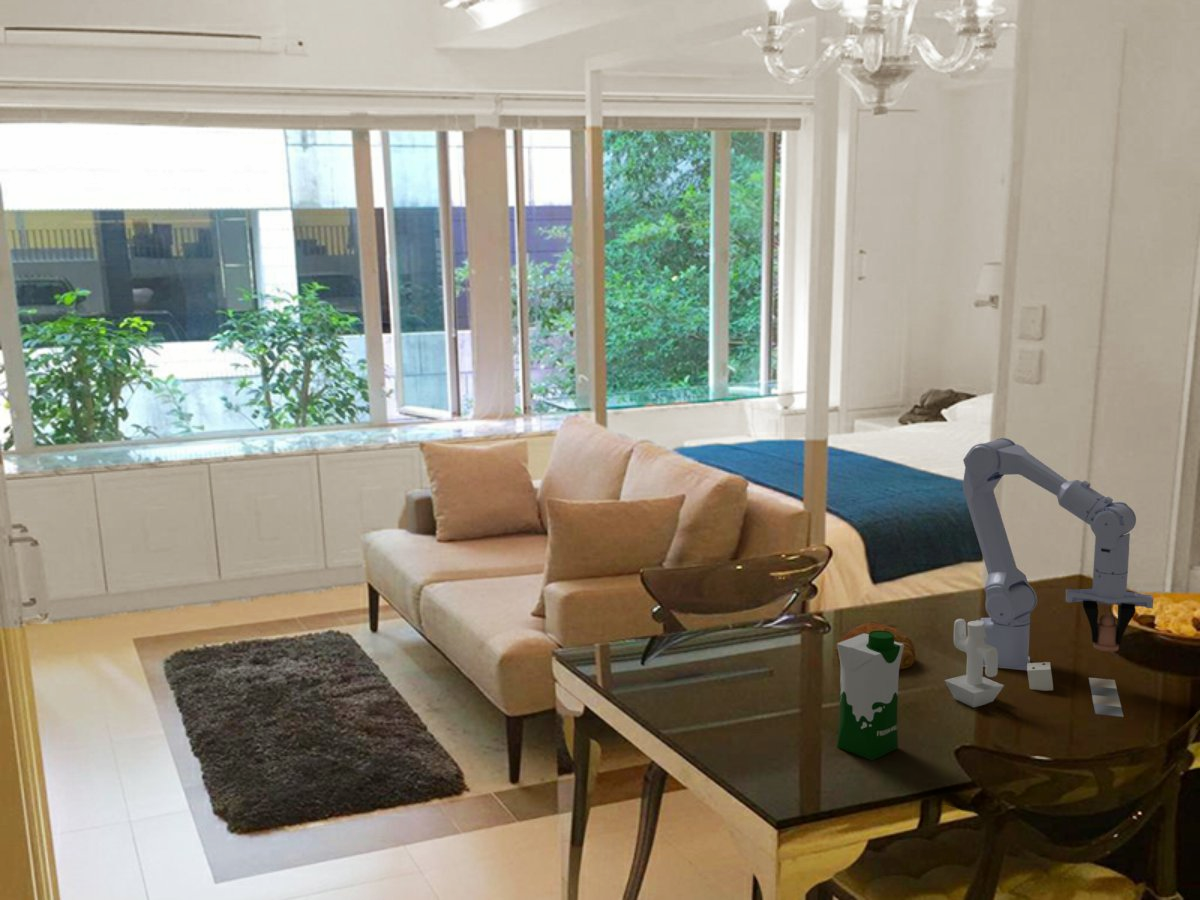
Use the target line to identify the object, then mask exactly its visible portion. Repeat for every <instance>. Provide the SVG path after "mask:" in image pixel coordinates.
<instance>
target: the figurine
mask: <svg viewBox="0 0 1200 900" xmlns="http://www.w3.org/2000/svg"><path fill="white" fill-rule="evenodd" d="M985 632H986V631H985V623H984V622H983V621H981V619H975V620H971V621H968V622H966V620H965V619H964V618H957V619H956V620H955V621H954V623H953V645H954V647H955V648H956V649H957V650H959V651H961V652H964V653H966V671H965V672H966V673H965V674H963V675H959V676H956V677H951V678H948V679H944V682H945V684H946V686H947V688H948V689H949V691H950V693H951V695H952V697H953V699H954V700H956V701H959V702H960V703H963V704H965V705H967V706H969V707H971V708H977V707H981V706H983V705H987V704H990V703H992V702H994V701H995V699H997V696H998V695H999V693H1000V692H1001V690H1003V688H1004V687H1005V685H1004V684H1002V683H999V682H997V681H994V680H992V679H989V678H994V677H996V676H997V675H998V671H999V670H998V652H997V649H996V648H995V647H993V646H991V645H988V644H985V642H984V638H986V634H985ZM983 659H984V661H985V667H983ZM984 668H985V669H984ZM983 671H984V672H985V673H983ZM983 674H985V676H986V677H985V676H984V675H983ZM987 677H988V678H987Z"/></svg>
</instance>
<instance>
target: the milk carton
mask: <svg viewBox="0 0 1200 900" xmlns="http://www.w3.org/2000/svg"><path fill="white" fill-rule="evenodd" d="M839 642H840V641H839ZM839 642H837V643H836V645H837V648H838V653H839V658H840V660H839V662H840V680H839V681H840V682H839V685H840V686H839V687H840V689H839V695H840V696H839V717H838V731H837V743H836V747H837V748H839V749H842V750H844V751H846V752H849V753H852V754H855V755H857V756H860V757H863V758H864V759H868V760H870V761H875V760H877V759H879V758H880V757H883V756H884V755H887V754H889V753H891V752H892V751H895V750H897V749H898V748H899V738H898V736H899V735H898V708H899V707H898V706H899V705H898V704H899V703H898V701H899V673H900V669H899V667H900V662H901V657H902V653H903V648H904V644H901V643H898V642H895V641H894V634H893V633H891V632H888V631H881V630H877V631H871V632H870V633H869V634H865V633H864V634H861V635H858V636H856V637H853V638H850V639H848V640H845V641H842V642H840V643H839ZM839 658H838V659H839Z"/></svg>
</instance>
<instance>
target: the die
mask: <svg viewBox="0 0 1200 900" xmlns="http://www.w3.org/2000/svg"><path fill="white" fill-rule="evenodd" d="M1051 667H1052V666H1051V661H1043V662H1041V661H1040V662H1030V663H1027V670H1026V672H1027V679H1028V685H1029V689H1030V690H1035V691H1037V690H1038V691H1045V692H1046V691H1054V681H1053V675H1052V668H1051Z"/></svg>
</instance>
